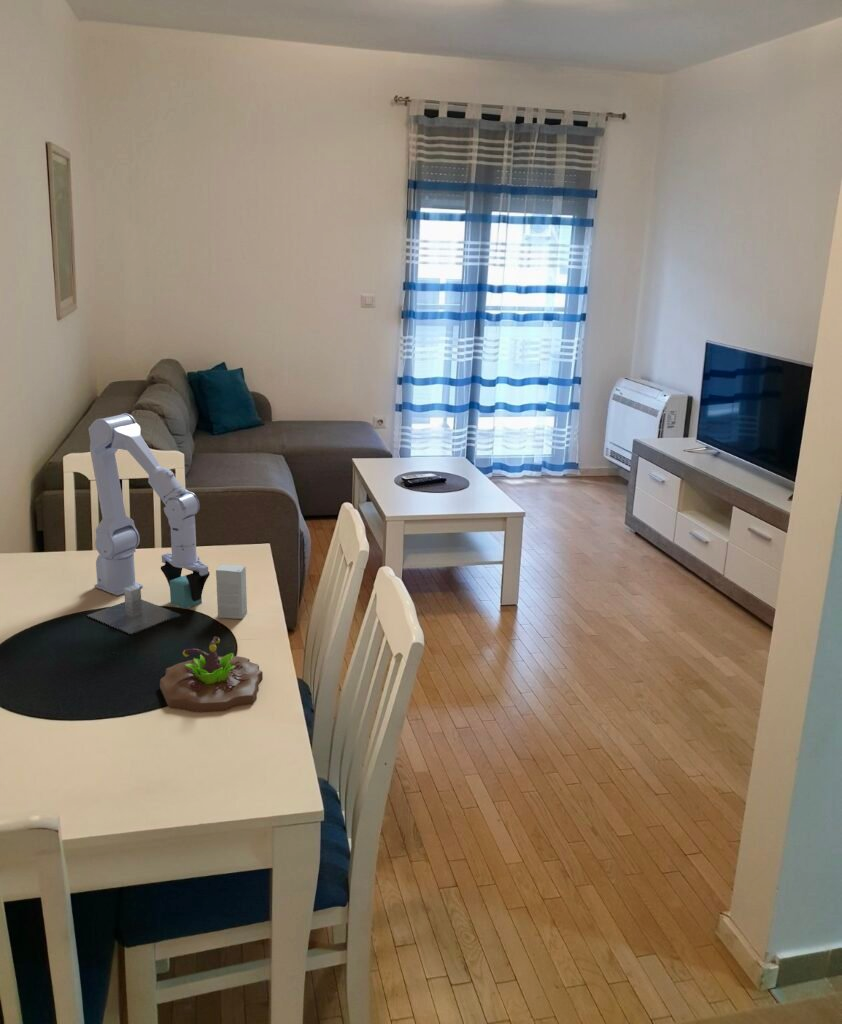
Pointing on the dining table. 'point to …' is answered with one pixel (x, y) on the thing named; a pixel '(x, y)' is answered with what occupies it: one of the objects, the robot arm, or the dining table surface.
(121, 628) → the dark grey square tile
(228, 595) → the skincare box
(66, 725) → the dining table surface
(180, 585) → the teal box
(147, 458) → the robot arm
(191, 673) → the plant
